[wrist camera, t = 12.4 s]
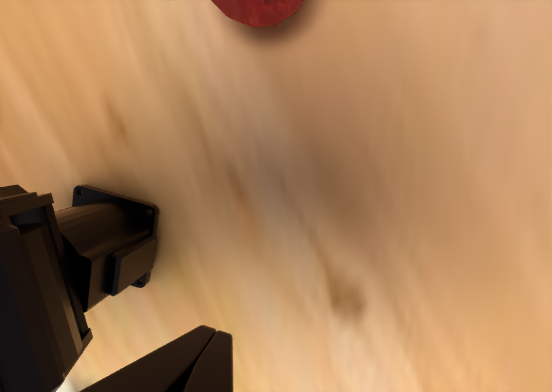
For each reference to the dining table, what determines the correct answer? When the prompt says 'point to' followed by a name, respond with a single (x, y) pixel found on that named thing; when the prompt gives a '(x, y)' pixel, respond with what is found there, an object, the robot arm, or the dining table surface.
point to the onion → (258, 10)
